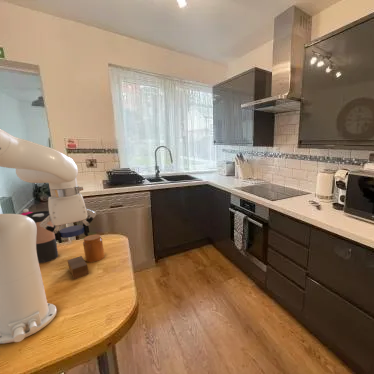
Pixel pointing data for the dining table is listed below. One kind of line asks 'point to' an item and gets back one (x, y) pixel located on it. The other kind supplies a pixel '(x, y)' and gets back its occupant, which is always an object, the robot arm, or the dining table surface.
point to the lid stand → (78, 267)
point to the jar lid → (72, 231)
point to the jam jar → (93, 248)
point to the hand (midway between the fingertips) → (73, 237)
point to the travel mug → (44, 238)
